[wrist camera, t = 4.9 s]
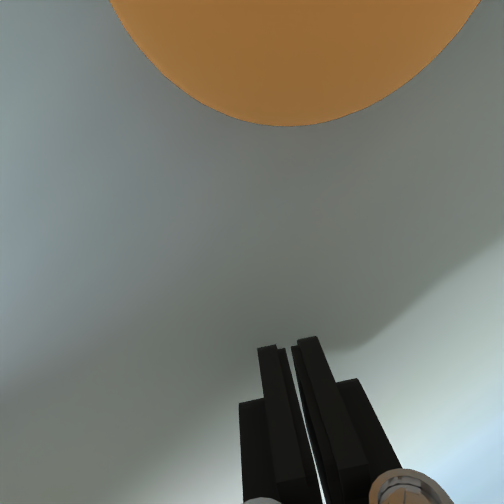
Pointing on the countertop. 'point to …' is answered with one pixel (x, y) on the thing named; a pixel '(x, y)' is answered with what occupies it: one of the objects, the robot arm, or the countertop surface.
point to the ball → (291, 51)
